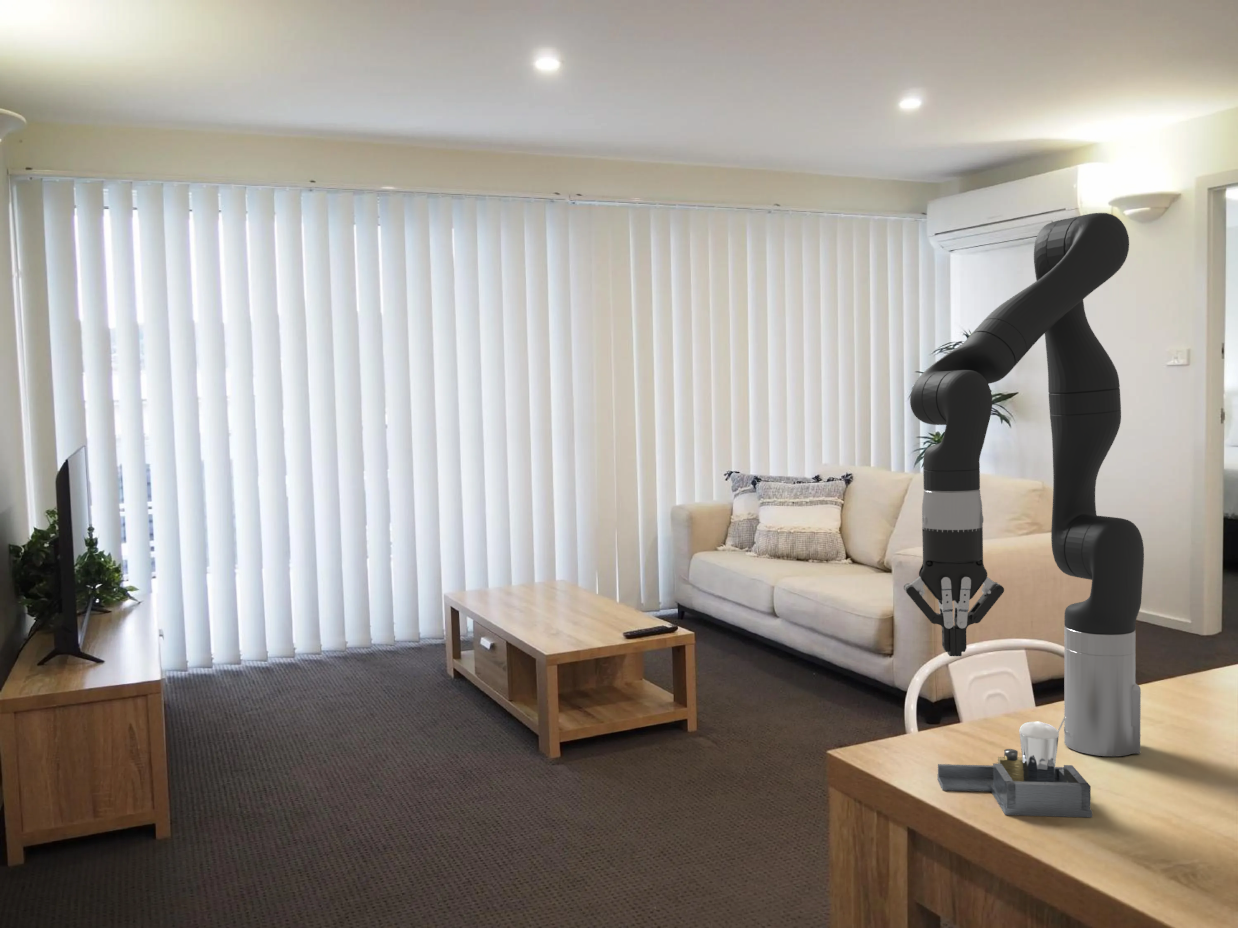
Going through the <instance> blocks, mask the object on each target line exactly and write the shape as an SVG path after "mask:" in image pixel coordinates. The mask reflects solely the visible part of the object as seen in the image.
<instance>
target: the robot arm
mask: <svg viewBox="0 0 1238 928" xmlns="http://www.w3.org/2000/svg"><path fill="white" fill-rule="evenodd" d="M1033 246H1034V247H1033V265H1034V266H1033V267H1034V273H1035V280H1036V281H1034V282H1033V283H1032V284H1030V285H1029V286H1027V287H1026V288H1024V289H1022V290H1021V291H1019V292H1018V293H1016V294H1015V295H1014V296H1012V297H1011V298H1009V299H1007V300H1005V302H1003V303H1001V304H1000V305H999V306H998V307H996V308H995V309H994V310H993V311H992V312H991V313H989V315H987V317H986V318H985V319H984V320H982V322H980V323H979V325H978V326H977V327H976V328H975V329H974V330H973V332H972V333H971V334H970V335H969V336H968V337H967V338H966V340H965V341H964V342H963V343H962V344H960V345H958V347H956V348H955V349H953V350H951V351H949V352H948V353H946V354H945V355H944V356H943V357H941V358H940V359H938V360H937V361H935V362H934V363H933V364H932V365H930V366H929V367H928V368H927V369H926V370H924V371H923V372H922V373H921V375H920V376H919V377H918V378H917V380H915V383H914V384H913V386H912V389H911V392H910V399H909V404H910V408H911V412H912V413H913V416H915V417H916V419H918V420H919V421H920V422H923V424H927V425H934V426H945V429H944V432H943V437H942V440H941V441H940V442H939V443H936V444H933V445H930V446H929V447H927V448H926V449H925V451H924V453H923V463H922V464H923V466H922V467H923V471H922V472H923V496H922V505H921V523H922V527H921V529H922V532H921V533H922V565H921V567H920V568H919V571H918V577H916V578H915V579H914V580H913V581H912V582H910V583H906V584H904V585H903V590H904V592H905V593H906V594H907V595H908V596H909V598H910V599H911V600H912V602H913V603H914V604H915V606H917V608H918V609H919V610H920V611H921V612H922V613H923V614H924V616H925V617H926V618H927V619H928V620H929V622H930V623H931V624H934V625H938V626H941V645H942V649H943V650H944V652H946V653H947V655H948V656H949V657H962V655H963V653H965V652H966V650H967V629H968V627H969V626H971V625H973V624H979V623H980V622H981V621H982V620H983V618H985V616H986V615H987V614H988V613H989V611H990V610H991V608H992V607H993V606H994V605H995V604H996V603H997V601H998V600H999V599H1000V598H1001V596H1002V595H1003V594H1004V593H1005V588H1004V586H1003V585H1001V584H1000V583H999V582H996V581H993V580H992V579H991V578H989V576H988V571H987V569H986V567H985V566H984V534H983V531H984V529H983V528H984V527H983V526H984V515H983V502H982V496H981V480H980V479H981V475H980V474H981V472H980V471H981V470H980V469H981V468H980V467H981V466H980V463H981V462H980V459H981V454H982V450H983V448H984V444H985V440H986V435H987V432H988V428H989V423H990V419H991V415H992V411H993V395H992V390H991V388H990V384H993V383H996V382H999V381H1001V380H1003V379H1004V378H1005V377H1006V376H1007V375H1008V374H1009V373H1010V372H1011V371H1012V370H1014V368H1015V367H1016V366H1017V364H1018V363H1019V362H1020V361H1021V360H1022V359H1023V358H1024V356H1025V355H1026V354H1027V353H1028V351H1030V349H1031V348H1032V347H1034V345H1035V344H1037V341H1039V340H1040V339H1041V337H1042V336H1044V337H1045V339H1044V340H1045V351H1046V361H1047V382H1048V384H1047V385H1048V405H1049V408H1048V409H1049V419H1050V420H1049V421H1050V429H1051V440H1052V470H1053V471H1052V475H1053V477H1052V478H1053V484H1052V485H1053V486H1052V487H1053V488H1052V489H1053V491H1052V513H1051V529H1050V530H1051V533H1050V534H1051V535H1050V537H1051V539H1050V540H1051V552H1052V556H1053V559H1054V562H1055V564H1056V566H1057V567H1058V569H1059V570H1060V571H1061V572H1063V573H1064V574H1065V575H1068V576H1070V577H1074V578H1080V579H1083V580H1090V581H1091V587H1090V595H1089V597H1087V599H1085V600H1084V601H1079V602H1075V603H1071V604H1069V605H1068V606H1067V607H1065V610H1064V621H1063V622H1064V626H1063V627H1064V631H1063V632H1064V633H1063V635H1064V642H1063V643H1064V647H1063V648H1064V652H1063V653H1064V663H1063V664H1064V677H1063V678H1064V684H1063V685H1064V687H1063V688H1064V692H1063V693H1064V700H1063V701H1064V702H1063V705H1064V709H1063V710H1064V714H1063V715H1064V716H1065V717H1066V718H1065V720H1064V722H1063V725H1064V727H1063V732H1064V733H1063V734H1064V738H1063V739H1064V741H1063V743H1064V745H1065V746H1066V747H1067V748H1070V749H1071V750H1074V751H1076V752H1079V753H1083V754H1087V755H1092V756H1100V757H1101V756H1102V757H1122V756H1123V757H1124V756H1128V755H1131V754H1141V707H1142V706H1141V701H1142V700H1141V697H1142V696H1141V695H1142V694H1141V693H1142V692H1141V691H1142V690H1141V686H1140V685H1138V683H1136V629H1137V628H1136V627H1137V626H1136V625H1137V623H1136V622H1137V619H1138V615H1139V613H1140V610H1141V606H1142V595H1143V593H1142V592H1143V589H1142V588H1143V577H1144V565H1145V564H1144V563H1145V562H1144V561H1145V552H1144V548H1145V547H1144V541H1143V537H1142V534H1141V531H1140V529H1139V528H1138V527H1137V526H1136V523H1134V522H1133V521H1130V520H1129V519H1125V518H1121V517H1114V516H1105V515H1104V516H1103V515H1097V509H1096V508H1097V506H1096V484H1097V478H1098V475H1099V472H1100V469H1101V466H1102V465H1103V463H1104V460H1105V459H1106V457H1107V455H1108V454H1109V451H1110V449H1111V447H1112V445H1113V444H1114V442H1115V439H1116V437H1117V435H1118V432H1119V430H1120V427H1121V422H1122V406H1121V405H1122V403H1121V386H1120V378H1119V374H1118V373H1119V372H1118V371H1117V369H1116V366H1115V364H1114V363H1113V361H1112V359H1111V357H1110V356H1109V354H1108V352H1107V351H1106V350H1105V348H1104V346H1103V345H1102V343H1101V341H1100V340H1099V339H1098V337H1097V336H1096V335H1095V333H1094V331H1093V329H1092V327H1091V325H1090V323H1089V321H1088V318H1087V314H1086V311H1085V304H1084V299H1085V298H1087V296H1089V295H1090V294H1092V293H1093V292H1094V291H1095V290H1096V289H1098V288H1099V287H1100V286H1102V285H1103V284H1105V283H1106V282H1107V281H1108V280H1110V279H1111V278H1112V277H1113V276H1114V275H1115V274H1116V273H1118V271H1120V269H1121V268H1122V266H1123V265H1124V264H1125V263H1126V260H1127V258H1128V254H1129V250H1130V237H1129V233H1128V230H1127V227H1126V226H1125V224H1124V222H1123V221H1122V220H1121V219H1120V218H1119V217H1117V216H1116V215H1114V214H1111V213H1108V212H1093V213H1086V214H1083V215H1079V216H1073V217H1070V218H1069V217H1068V218H1064V219H1060V220H1055V221H1051V222H1049V223H1047V224H1045V225H1044V226H1043V227H1042V228H1041V229H1040V230H1039V231H1038V233H1037V236H1036V239H1035V242H1034V245H1033ZM924 586H926V588H927V589H928V591H930V594H932V596H933V597H934V598H935V599H936V600H937V604H938V608H939V613H938V612H935V610H934V609H933V608H932V607H931V606H930V604H929V603H928V602H927V601H926V600H925V598H924V597H923V596H924V595H925V592H926V591H925V589H924ZM981 587H982V588H981ZM980 588H981V592H982V595H981V596H980V597H979V598H978V600H977V601H976V602H975V603H974V604H973V606H972V607H971V608H970V600H972V599H973V598H974V597H975V595H976V594H977V593H978V591H979V590H980ZM953 606H954V607H953ZM1064 716H1063V717H1064Z"/></svg>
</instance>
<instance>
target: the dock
mask: <svg viewBox="0 0 1238 928" xmlns="http://www.w3.org/2000/svg"><path fill="white" fill-rule="evenodd" d="M937 782H938V784H939V786H940V788H941V790H942V791H955V792H956V791H958V792H959V791H960V792H967V791H968V792H990V793H991V794H992V795H993V798H994V799H995V800H996V803H997V804H998V806H999V808H1000V809H1001V811H1002V812H1003V814H1004V816H1026V817H1027V816H1028V817H1062V818H1063V817H1064V818H1068V817H1069V818H1093V809H1091V785H1090V784H1089V783H1088V782H1087V780H1086V779H1085V778H1084V777H1083V776H1082V774H1081V773H1080V772H1079V771H1078V770H1077V769H1076V768H1075V766H1074V765H1072V764H1064V765H1063V766H1055V776H1054V782H1021V781H1013V780H1012V778H1011V777H1010V776H1009V774H1008V773H1007V771H1006V770H1005V768H1004V767H1003V765H1002V764H998V763H992V765H991V764H990V765H989V764H988V765H986V764H983V765H982V764H946V763H945V764H944V763H941V764H940V763H937Z"/></svg>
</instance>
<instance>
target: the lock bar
mask: <svg viewBox="0 0 1238 928" xmlns="http://www.w3.org/2000/svg"><path fill="white" fill-rule="evenodd" d="M1003 753H1004V755H1003V756H998V757H997V764H1002V765H1003V767H1004V768H1005V770H1006V771H1007V773H1008V774H1009V776H1010V777H1011V778H1012V780H1013V781H1021V782H1024V775H1023V762H1022V756H1020V757H1019V756H1018V750H1017V749H1012V748H1006V749H1004V752H1003Z"/></svg>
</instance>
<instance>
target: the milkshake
mask: <svg viewBox="0 0 1238 928" xmlns="http://www.w3.org/2000/svg"><path fill="white" fill-rule="evenodd" d="M1065 718H1066V717H1065V716H1063V718H1062V720H1061V722H1060V725H1059V726H1058V729H1057V728H1056V727H1055V726H1053V725H1051V724H1049V723H1046V722H1042V721H1040V720H1037V721H1027V722H1024V723H1023V724H1022V725H1021V726H1020V727H1019V732H1018V733H1019V739H1020V749H1021V750H1020V751H1021V757H1022V762H1023V775H1024V782H1054V776H1055V767H1056V760H1057V753H1058V745H1059V738H1060V737H1059V736H1060V730H1061V729H1062V726H1063V725H1064V720H1065Z"/></svg>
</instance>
